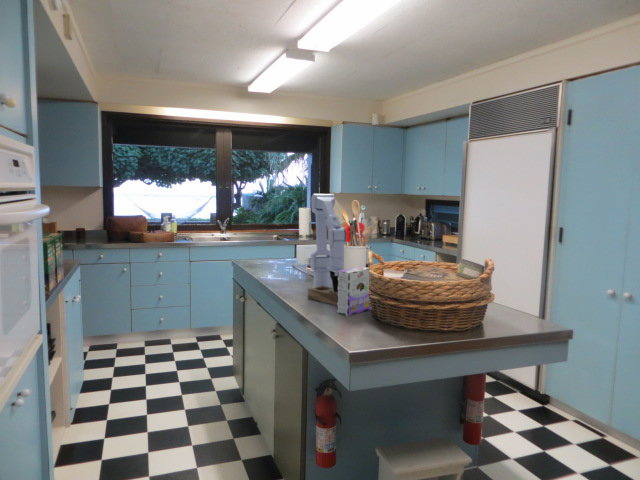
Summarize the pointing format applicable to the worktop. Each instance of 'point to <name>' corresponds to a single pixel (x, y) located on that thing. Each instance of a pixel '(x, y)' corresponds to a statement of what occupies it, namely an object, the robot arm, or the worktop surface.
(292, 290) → the worktop surface
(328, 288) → the socket block
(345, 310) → the candy box
